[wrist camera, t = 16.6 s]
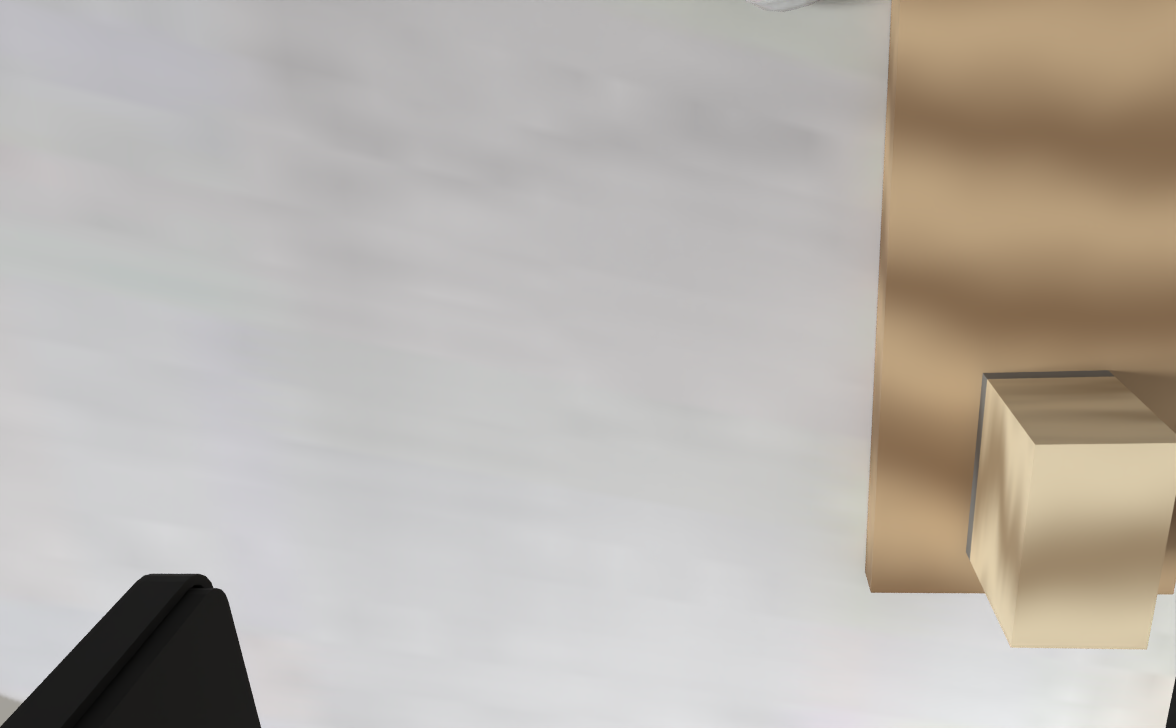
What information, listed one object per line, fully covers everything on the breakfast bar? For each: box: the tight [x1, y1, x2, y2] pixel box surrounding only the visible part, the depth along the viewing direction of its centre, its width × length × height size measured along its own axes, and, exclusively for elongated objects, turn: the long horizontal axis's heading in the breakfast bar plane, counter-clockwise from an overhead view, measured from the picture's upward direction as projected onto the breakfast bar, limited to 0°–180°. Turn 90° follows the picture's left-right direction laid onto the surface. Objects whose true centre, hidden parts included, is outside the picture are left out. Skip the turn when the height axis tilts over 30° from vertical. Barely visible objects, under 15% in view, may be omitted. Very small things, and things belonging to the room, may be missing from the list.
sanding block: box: [966, 370, 1176, 649], centre depth 34 cm, size 8×4×6 cm, turn 4°
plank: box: [865, 0, 1176, 594], centre depth 35 cm, size 26×12×2 cm, turn 4°
